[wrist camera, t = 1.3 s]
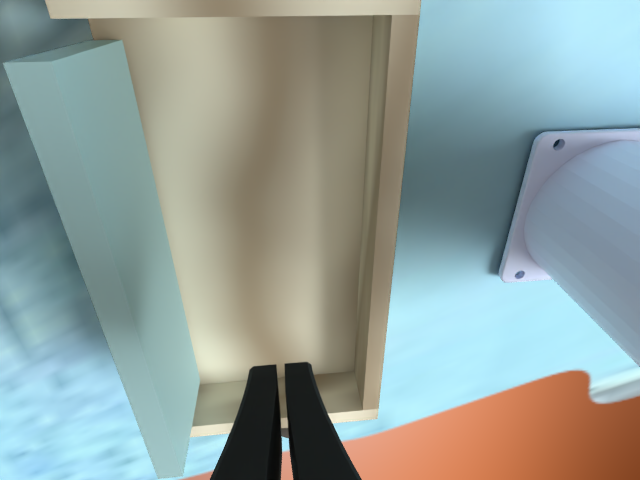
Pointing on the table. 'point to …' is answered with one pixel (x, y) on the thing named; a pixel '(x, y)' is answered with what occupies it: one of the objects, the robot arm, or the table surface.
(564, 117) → the table surface
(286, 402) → the robot arm
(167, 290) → the tailgate
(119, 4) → the beige tray
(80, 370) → the table surface
